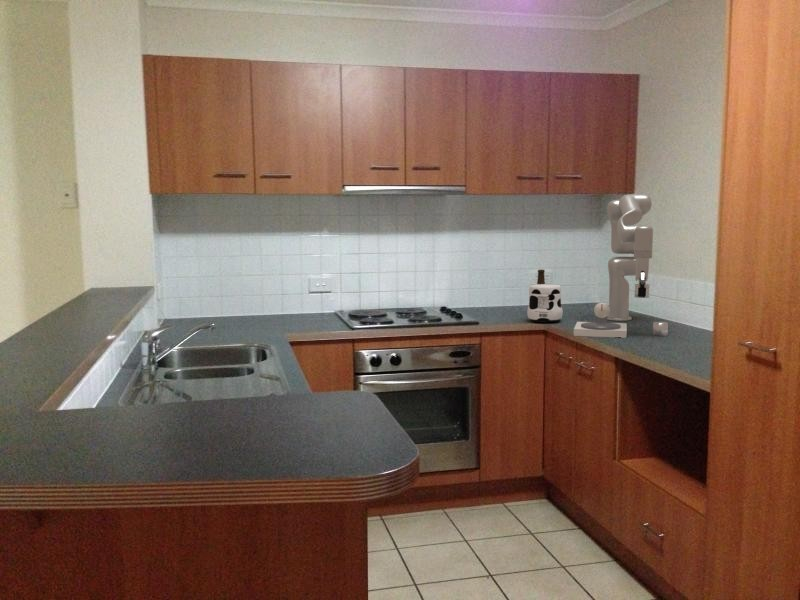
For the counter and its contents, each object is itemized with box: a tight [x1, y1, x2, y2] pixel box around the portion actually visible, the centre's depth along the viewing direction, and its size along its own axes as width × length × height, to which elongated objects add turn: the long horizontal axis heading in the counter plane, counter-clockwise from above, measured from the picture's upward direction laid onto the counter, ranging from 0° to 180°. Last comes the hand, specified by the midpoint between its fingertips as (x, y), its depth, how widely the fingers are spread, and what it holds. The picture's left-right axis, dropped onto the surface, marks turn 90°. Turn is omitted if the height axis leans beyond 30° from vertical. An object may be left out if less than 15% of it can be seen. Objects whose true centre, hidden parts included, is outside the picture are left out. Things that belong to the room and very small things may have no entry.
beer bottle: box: [536, 269, 546, 284], centre depth 364 cm, size 8×8×24 cm
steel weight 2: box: [652, 321, 669, 337], centre depth 297 cm, size 6×6×6 cm
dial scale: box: [573, 302, 628, 339], centre depth 304 cm, size 22×22×12 cm
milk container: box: [526, 283, 564, 323], centre depth 339 cm, size 17×17×18 cm
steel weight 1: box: [634, 283, 650, 299], centre depth 298 cm, size 6×6×6 cm
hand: (641, 295), depth 298 cm, fingers closed on steel weight 1, 6 cm apart
